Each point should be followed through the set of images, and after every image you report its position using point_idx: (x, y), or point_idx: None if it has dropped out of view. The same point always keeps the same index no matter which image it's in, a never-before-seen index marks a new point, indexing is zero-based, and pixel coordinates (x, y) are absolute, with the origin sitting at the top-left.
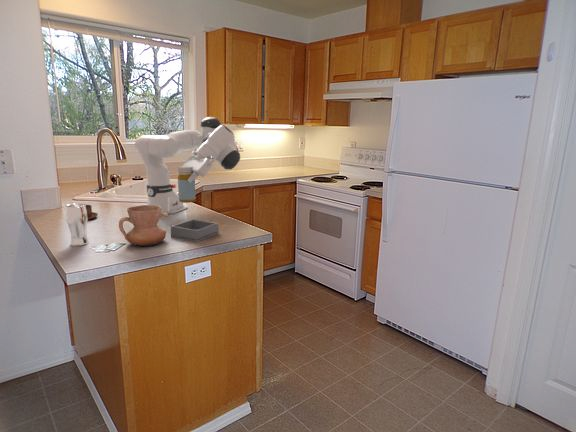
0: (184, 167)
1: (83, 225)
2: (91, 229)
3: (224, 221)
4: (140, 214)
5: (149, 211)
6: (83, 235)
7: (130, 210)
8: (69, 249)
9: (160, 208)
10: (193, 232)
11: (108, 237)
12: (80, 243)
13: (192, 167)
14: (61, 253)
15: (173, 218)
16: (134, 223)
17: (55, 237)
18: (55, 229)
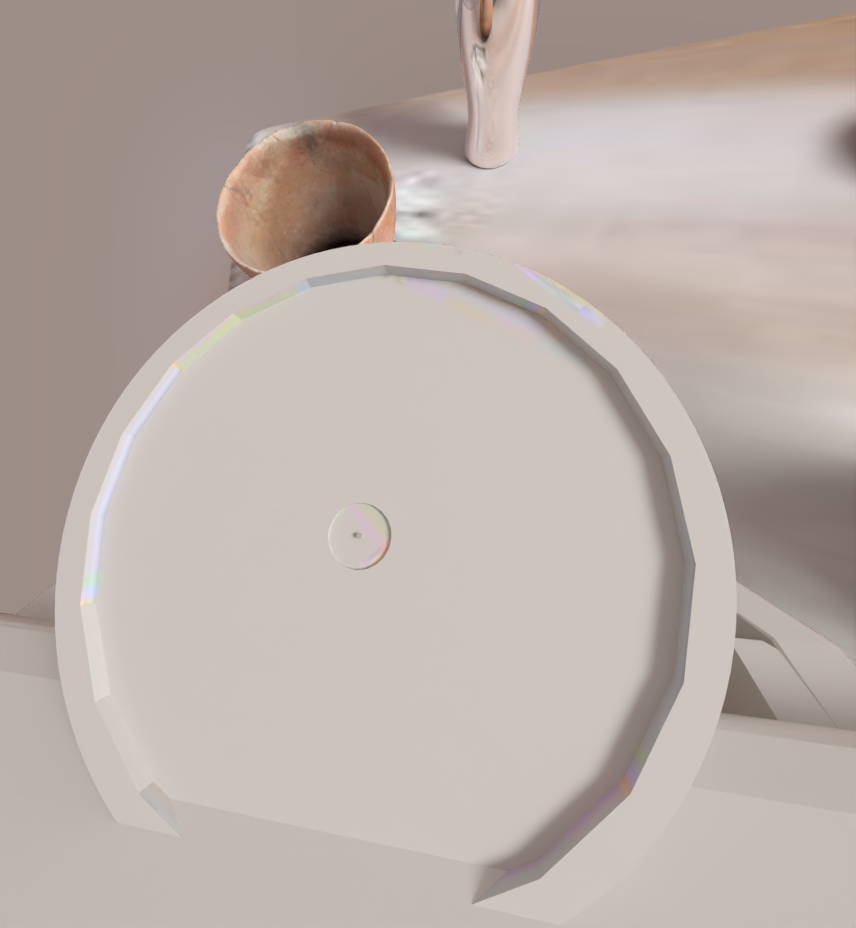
0: (134, 379)
1: (465, 70)
2: (682, 180)
3: None
4: (247, 184)
5: (218, 208)
6: (470, 119)
7: (366, 156)
8: (443, 124)
9: (244, 267)
10: None
11: (517, 225)
12: (465, 140)
13: (115, 751)
14: (416, 109)
15: (735, 550)
16: (317, 212)
17: (618, 82)
18: (753, 72)
